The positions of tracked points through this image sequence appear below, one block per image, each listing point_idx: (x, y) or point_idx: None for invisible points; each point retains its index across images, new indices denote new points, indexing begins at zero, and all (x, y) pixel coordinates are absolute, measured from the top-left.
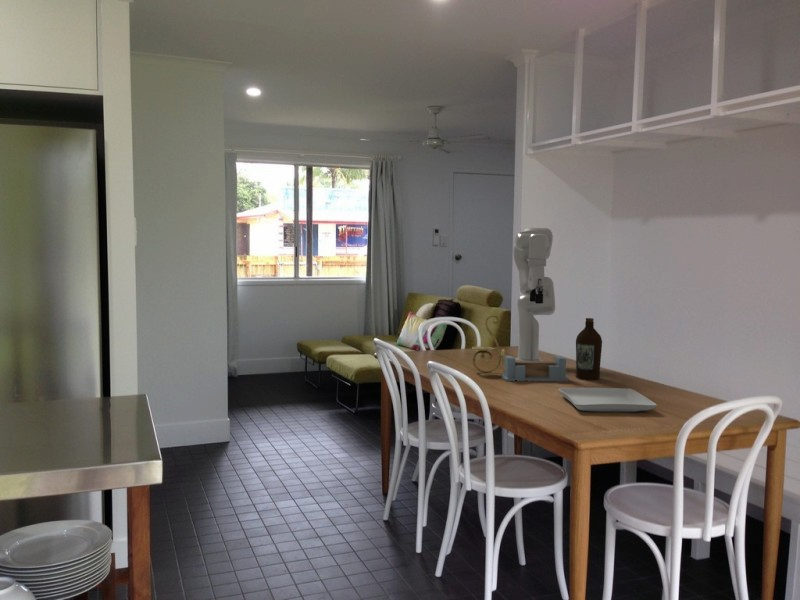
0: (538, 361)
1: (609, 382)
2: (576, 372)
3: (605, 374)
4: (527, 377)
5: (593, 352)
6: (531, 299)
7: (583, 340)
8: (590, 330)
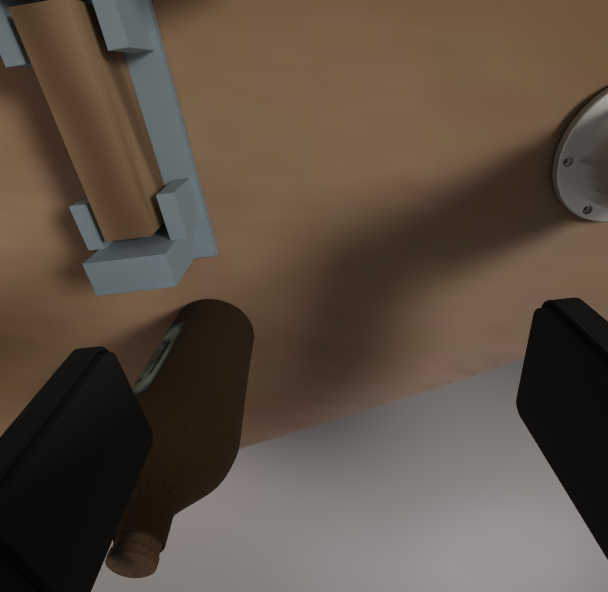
0: (114, 160)
1: None
2: (202, 308)
3: (294, 390)
4: None
5: None
6: (555, 347)
7: None
8: None
